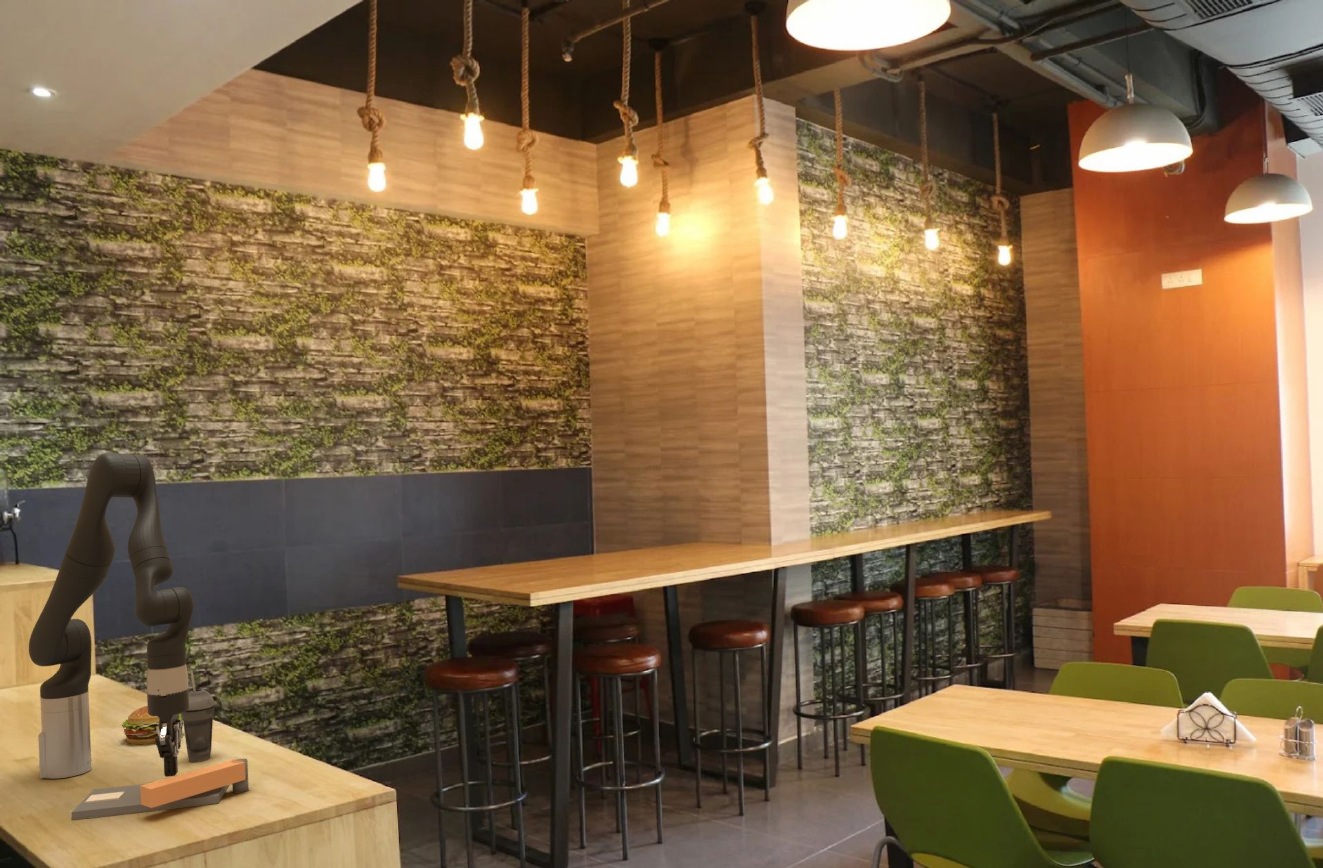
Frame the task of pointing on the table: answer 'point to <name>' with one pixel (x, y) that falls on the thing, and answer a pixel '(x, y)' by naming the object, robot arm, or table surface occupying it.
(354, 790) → the table surface
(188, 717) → the beverage cup
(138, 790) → the label board
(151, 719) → the food
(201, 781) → the swing bar
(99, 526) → the robot arm
